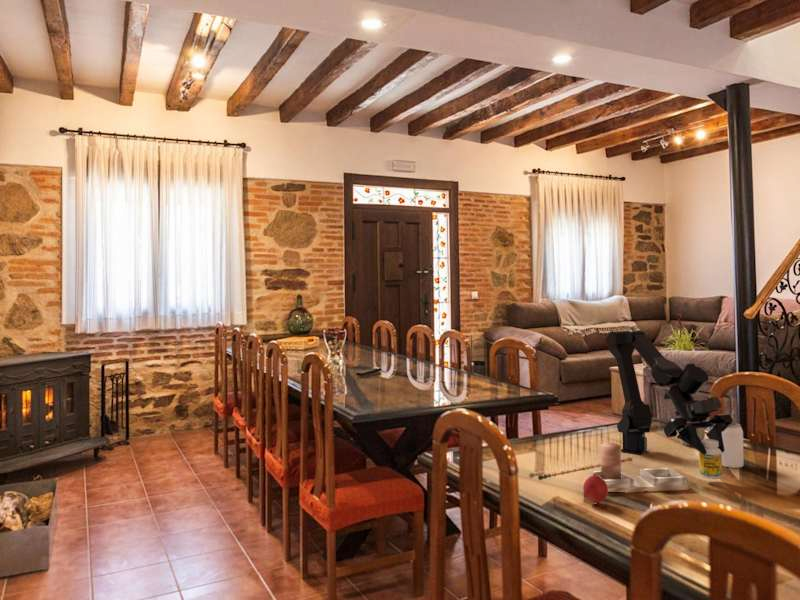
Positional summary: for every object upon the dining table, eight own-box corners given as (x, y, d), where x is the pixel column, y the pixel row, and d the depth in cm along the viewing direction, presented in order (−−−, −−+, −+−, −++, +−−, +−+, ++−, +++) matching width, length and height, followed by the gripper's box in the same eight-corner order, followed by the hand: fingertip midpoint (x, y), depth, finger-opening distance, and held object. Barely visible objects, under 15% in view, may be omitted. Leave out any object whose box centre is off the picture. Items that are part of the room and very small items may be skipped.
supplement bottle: (719, 473, 167) (719, 438, 166) (723, 479, 161) (723, 443, 161) (698, 472, 168) (697, 437, 168) (701, 478, 163) (701, 442, 163)
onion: (579, 500, 154) (579, 469, 153) (602, 499, 154) (601, 468, 154) (589, 509, 148) (588, 476, 148) (612, 507, 148) (611, 475, 148)
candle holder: (600, 493, 159) (599, 450, 158) (587, 482, 168) (587, 441, 167) (688, 489, 160) (687, 447, 159) (671, 478, 169) (670, 438, 168)
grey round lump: (689, 448, 208) (689, 419, 210) (712, 449, 200) (712, 419, 203) (671, 443, 203) (672, 413, 206) (694, 444, 196) (695, 413, 199)
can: (746, 468, 176) (746, 427, 175) (722, 468, 177) (721, 427, 177) (739, 462, 182) (738, 422, 182) (715, 461, 183) (714, 422, 183)
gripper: (670, 389, 166) (699, 439, 155) (728, 384, 170) (760, 433, 160) (651, 412, 173) (678, 461, 163) (707, 407, 178) (737, 455, 168)
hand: (714, 452), depth 163 cm, fingers closed on supplement bottle, 5 cm apart
